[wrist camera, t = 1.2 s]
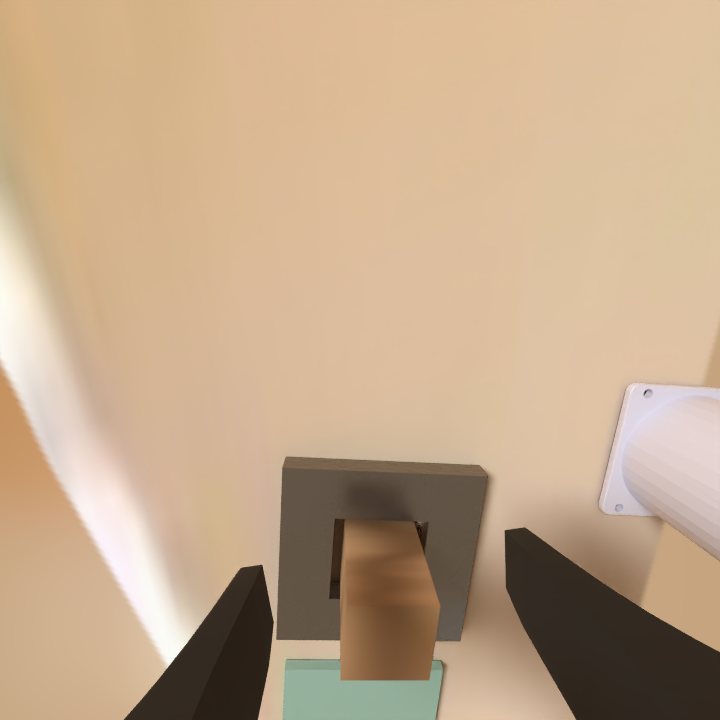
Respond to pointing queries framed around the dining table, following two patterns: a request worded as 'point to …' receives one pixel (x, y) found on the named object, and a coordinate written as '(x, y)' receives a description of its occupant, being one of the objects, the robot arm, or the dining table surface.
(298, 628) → the socket plate
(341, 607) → the brown block
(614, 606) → the robot arm
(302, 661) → the mat
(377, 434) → the dining table surface
